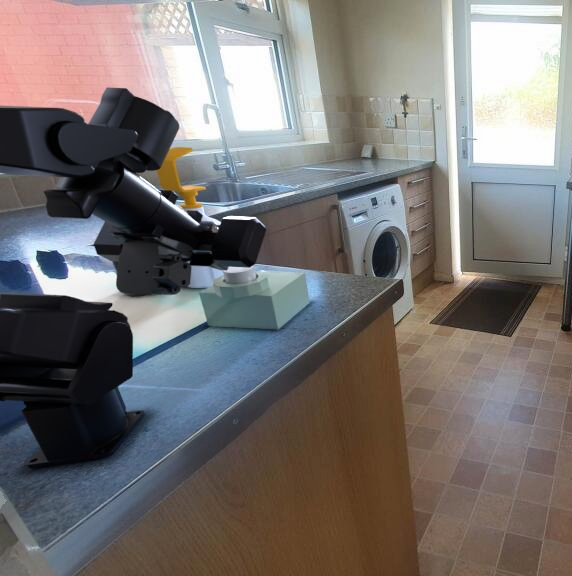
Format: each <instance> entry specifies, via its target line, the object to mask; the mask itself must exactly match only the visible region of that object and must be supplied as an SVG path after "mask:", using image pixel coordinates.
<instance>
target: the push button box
mask: <svg viewBox="0 0 572 576" xmlns="http://www.w3.org/2000/svg"><path fill="white" fill-rule="evenodd" d="M255 273H256V277H257V279H255V280H253V281H249V282H246V283H240V284H227V283H226V282H225V278H224V275H222V276H220V277H218V278H216V279H215V280H214V282H213V285H212V286H210V287H208V288H204V289H202V290H201V291H199V292H198V294H199V298H200V302H201V305H202V308H203V312H204V315H205V319H206V323H207V326H208V327H219V328H241V329H260V330H261V329H263V330H280V329H281V328H282V327H283V326H284V325H286V324H287V323H288V322H289V321H290V320H291V319H293V318H294V317H295V316H296V315H297V314H298V313H300V312H301V311H302V310H303V309H304V308H305V307H307V306H308V305H309V304H310V303H311V301H310V295H309V289H308V282H307V277H306V272H299V271H298V272H296V271H278V270H256V269H255Z"/></svg>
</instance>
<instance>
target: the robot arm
mask: <svg viewBox="0 0 572 576" xmlns="http://www.w3.org/2000/svg"><path fill="white" fill-rule="evenodd" d="M179 130H180V122H179V120H178V119H177V118H176V117H175V116H174V115H173V113H171V112H170V111H169V110H167V109H164V108H162V107H160V106H159V105H158V104H156V103H154V102H153V101H152V102H151V101H150V100H148V99H145V98H142V97H139V96H136V95H134V94H133V93H132V92H131V91H130V90H129V89H128V88H127V87H110V86H109V87H106V88H105V89H104V91H103V92H102V95H101V98H100V102H99V105H98V106H97V108H96V110H95V111H94V113H93V114H92V116H91V118H90V119H89V122H87V121H86V120H85V118H84V116H83V115H81V114H79V113H78V112H76V111H73V110H70V109H67V108H64V107H49V106H47V107H46V106H24V105H23V106H22V105H0V174H3V175H12V176H27V177H28V176H29V177H31V176H32V177H53V178H54V177H55V178H59V180H58V182H57V183H56V185H55V187H53V188H45V189H43V191H42V192H43V195H44V196H45V201H46V202H45V210H46V213H47V214H46V215H47V216H49V217H50V218H56V219H77V220H78V219H80V220H88V219H90V218H91V216H92V215H93V216H95V217H97V218H98V219H100V220H102V221H103V224H102V226H101V229H100V230H99V232H98V234H97V236H96V238H95V240H94V242H93V247H94V250H95V252H96V255H97V256H100V257H101V258H104V259H106V260H108V261H109V262H112V261H118V268H117V275H116V278H115V279H116V280H115V287H116V289H117V291H118V292H119V293H122V294H125V293H134V294H148V295H162V296H163V295H165V296H175V295H178V294H179V293H180V291H181V289H182V288H189V287H188V286H189V284H190V280H191V268H192V267H191V266H207V267H211V268H215V269H218V270H226V271H227V270H228V268H229V267H245V268H250V267H251V266H253V265H254V266H255V265H256V264H257V260H258V257H259V254H260V251H261V248H262V245H263V241H264V239H265V235H266V233H267V230H268V229H267V227H266V226H265V224H264V223H263V222H262V221H260V220H259V219H258V218H257V217H256V216H237V215H235V216H234V215H229V216H225V217H223V218H221V221H220V222H221V224H220V225H216V223H215V222H213V221H201V220H202V217H203V215H202V214H201V213H200V212H199V211H193V210H184V209H183V208H181V207H180V204H177V200H178V198H179V194H178V193H176V192H175V191H171V190H164V189H157V187H155V186H154V185H152V184H151V183H150V182H149V181H147V180H146V179H145V178H143V177H142V176H141V175H139V174H143V173H146V171H147V172H154V171H155V172H156V170H158V169H160V168H161V166H162V164H163V162H164V160H165V158H166V156H167V154H168V152H169V149H171V148H172V145H173V143H174V141H175V140H176V139H175V138H176V136H177V134H178V133H179ZM188 262H190V263H188ZM113 305H114V303H113V302H105V301H86V300H83V299H81V298H77V297H74V296H70V295H64V294H45V293H43V294H42V293H26V292H25V293H23V292H22V293H21V292H0V402H5V401H9V402H11V401H12V402H23V405H24V408H23V409H22V410H21V411H20V413H21V415H22V416H23V418H24V420H25V422H26V424H27V425H28V427H29V429H30V431H31V433H32V436H33V437H34V439H35V441H36V442H37V443H36V444H38V446H39V450H37V451H36V452H35V453H34V454H33V455H32V456H31V457H30V458H29V459H28V460H27V461H26V462H25V465H26V466H27V468H28V469H34V468H35V469H36V468H41V467H49V466H56V465H63V464H71V463H76V462H83V461H90V460H91V461H92V460H98V459H105V458H108V457H110V456H112V455H114V453H115V452H116V451H117V450H118V449H119V448H120V446H122V444H123V443H124V441H125V440H126V439H127V438H128V436H129V435H130V434H131V433H132V432H133V431H134V429H135V428H136V427H137V425H138V424H139V423H141V421H142V420H143V419H144V417H145V415H146V413H145V410H144V409H139V410H129V411H127V407H126V404H125V401H124V399H123V397H122V394H121V392H120V389H119V387H120V386H121V385H122V384H124V383H125V382H127V381H128V380H130V379H132V378H133V375H134V333H133V331H132V329H131V324H130V323H129V322H128V321H129V318H128V316H126V314H124V313H123V312H120V311H117V310H113V309H111V308H112V307H113Z"/></svg>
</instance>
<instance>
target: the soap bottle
mask: <svg viewBox="0 0 572 576" xmlns="http://www.w3.org/2000/svg"><path fill="white" fill-rule="evenodd" d="M192 152H194V149H193V148H192V147H185V146H176V147H171V148H170V149H169V152H168V154H167V156H166V158H165V160H164V162H163V164H162V166H161V168H160V169H158V170H155V172H156V174H157V177H158V181H159V184H160V187H161V188H162V190H171V191H173V192H177V194H178V197H182V198H183V201H184V203H180V204H179V206H180V207H181V208H183V209H184V210H193V211H199V212H200V213H201V214H202V215H203V217H202V220H201V221H213V222H215V223H216V225H220V224H221V221H220V220H218V219H216V218H213V217H211V216H208V215H206V213H205V208H204V206H203V203H202V202H197V200H196V196H198V195H199V193H198V191H204V190H207V188H206V186H202V185H201V186H200V185H181V181H180V177H179V174H178V170H177V165H176V164H177V160H178V159H180V158H181V157H183V156H186V155H188V154H190V153H192ZM188 263H190V262H188ZM191 267H192V268H191V280H190V284H189V286H188V287H187V288H190V289H191V288H192V289H207V288H208V287H210V286H212V285H213V282H214V280H215V279H216V278H218V277H220V276H222V275H224V274H223V270H218V269H215V268H211V267H207V266H191Z"/></svg>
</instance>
